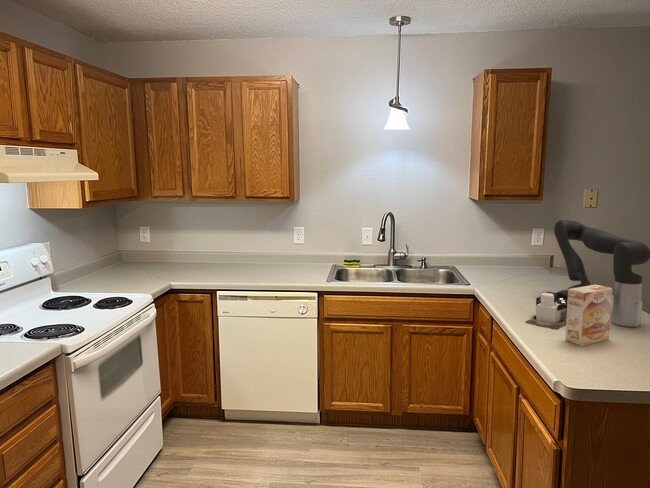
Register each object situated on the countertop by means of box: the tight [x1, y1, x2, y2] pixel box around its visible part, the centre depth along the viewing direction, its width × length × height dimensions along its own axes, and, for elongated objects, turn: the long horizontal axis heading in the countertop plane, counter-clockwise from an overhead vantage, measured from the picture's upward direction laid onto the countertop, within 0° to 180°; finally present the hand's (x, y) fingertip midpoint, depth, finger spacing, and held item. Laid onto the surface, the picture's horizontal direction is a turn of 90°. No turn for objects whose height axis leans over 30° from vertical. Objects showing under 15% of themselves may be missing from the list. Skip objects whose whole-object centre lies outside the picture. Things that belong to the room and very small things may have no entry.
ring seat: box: [525, 314, 567, 330], centre depth 193 cm, size 13×13×2 cm
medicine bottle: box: [535, 291, 561, 323], centre depth 192 cm, size 7×7×12 cm
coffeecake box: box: [565, 284, 614, 347], centre depth 171 cm, size 15×7×20 cm, turn 114°
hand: (547, 306), depth 191 cm, fingers open, 8 cm apart
